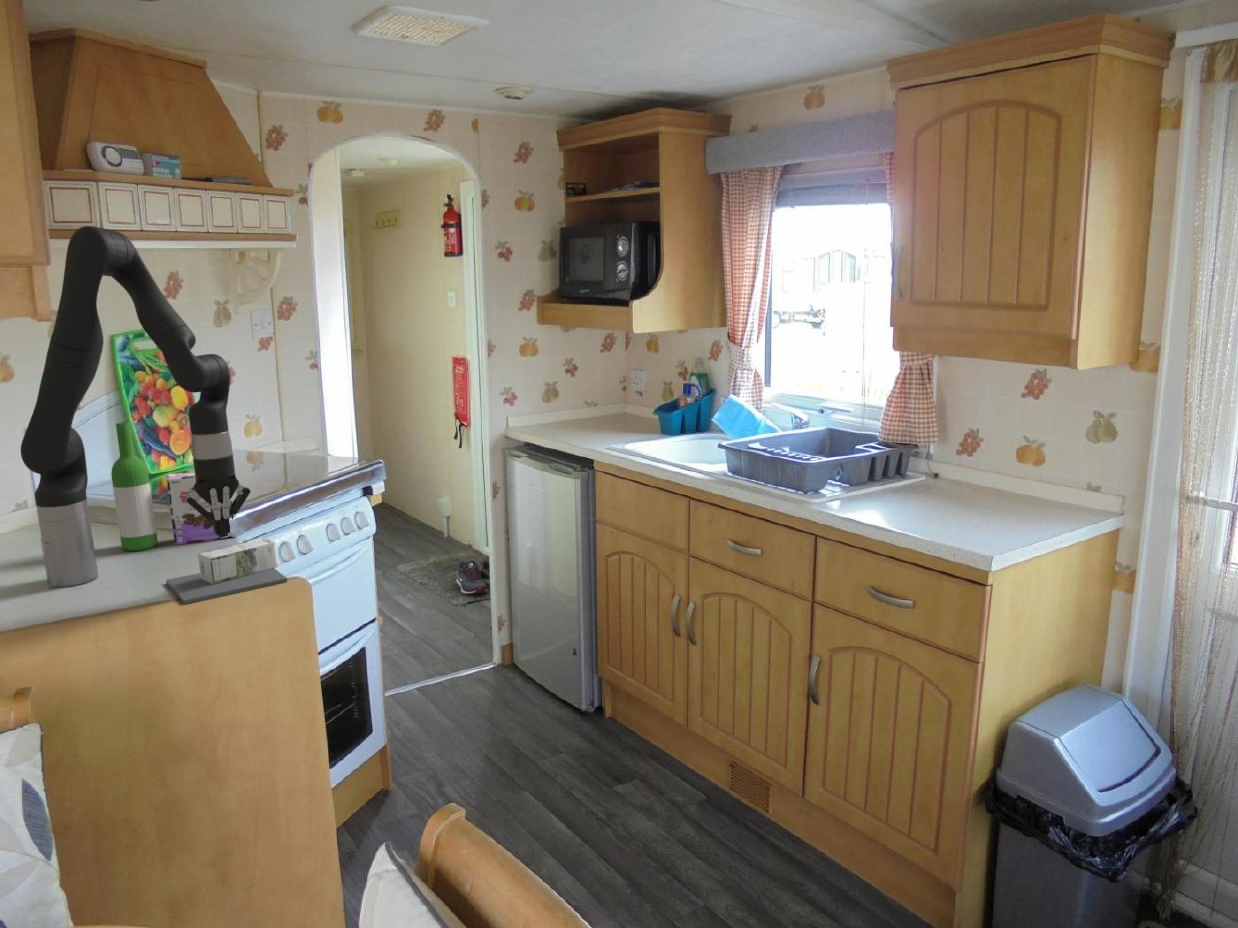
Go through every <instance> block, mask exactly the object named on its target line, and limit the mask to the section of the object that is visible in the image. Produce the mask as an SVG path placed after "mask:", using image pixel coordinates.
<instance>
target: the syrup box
mask: <svg viewBox="0 0 1238 928" xmlns="http://www.w3.org/2000/svg"><path fill="white" fill-rule="evenodd" d="M275 545H276V544H275V541H273V540H270V539H268V538H264V537H258V538H255V539H251V540H247V541H243V542H240V543H239V542H238V543H236V544H231V545H227V546H222V547H218V548H214V549H211V550H205V551H201V552H198V553H197V558H198V565H199V573H200V574H201V576H200V577H201V579H202V580H204V581H207V582H209V583H212V584H216V583H220V582H223V581H227V580H231V579H235V578H238V577H242V576H245V575H249V574H253V573H257V572H261V571H264V570H268V569H272V568H277V567H278V564H277V559H276V557H277V556H276V547H275Z"/></svg>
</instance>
